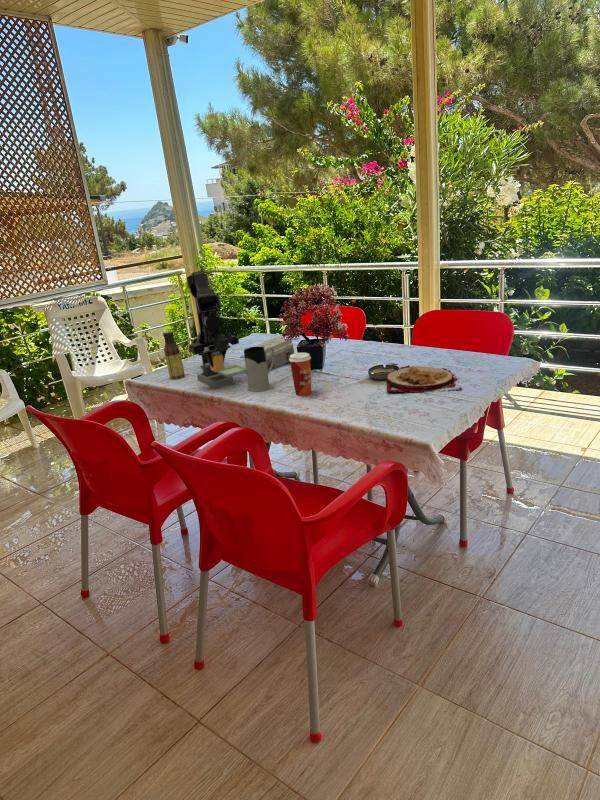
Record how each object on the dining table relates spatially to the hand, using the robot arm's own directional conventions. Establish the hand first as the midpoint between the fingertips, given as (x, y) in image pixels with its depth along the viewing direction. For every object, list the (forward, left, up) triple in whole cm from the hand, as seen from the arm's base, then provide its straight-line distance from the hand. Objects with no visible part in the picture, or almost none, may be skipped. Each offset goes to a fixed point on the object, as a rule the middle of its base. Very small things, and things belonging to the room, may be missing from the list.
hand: (217, 365), depth 213 cm
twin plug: (-8, 0, -7) cm, 11 cm away
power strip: (-4, 0, -8) cm, 9 cm away
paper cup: (+34, +16, -8) cm, 38 cm away
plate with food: (+56, +52, -9) cm, 77 cm away
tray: (-11, +11, -8) cm, 17 cm away
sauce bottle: (-24, -8, -8) cm, 27 cm away
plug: (0, 0, -2) cm, 2 cm away
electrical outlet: (-6, +28, -8) cm, 30 cm away
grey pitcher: (+15, +11, -8) cm, 20 cm away
